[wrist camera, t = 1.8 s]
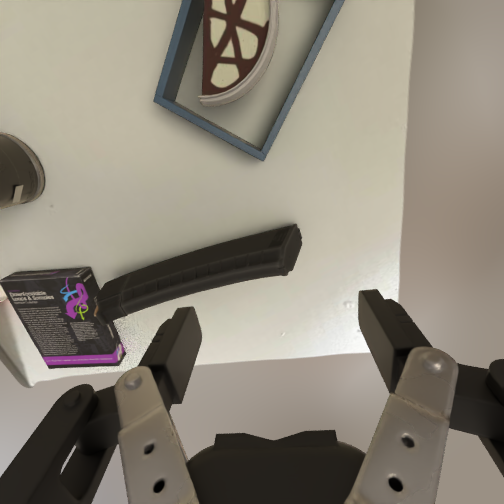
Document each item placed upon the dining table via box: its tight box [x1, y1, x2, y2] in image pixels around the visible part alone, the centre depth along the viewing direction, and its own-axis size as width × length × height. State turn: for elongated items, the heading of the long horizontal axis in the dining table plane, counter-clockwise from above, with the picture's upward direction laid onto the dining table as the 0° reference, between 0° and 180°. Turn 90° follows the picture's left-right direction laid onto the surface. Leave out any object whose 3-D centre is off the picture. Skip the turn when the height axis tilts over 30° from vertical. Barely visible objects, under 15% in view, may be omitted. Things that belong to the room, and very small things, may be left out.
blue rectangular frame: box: [154, 0, 345, 161], centre depth 27 cm, size 14×18×4 cm
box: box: [0, 267, 126, 369], centre depth 46 cm, size 14×4×20 cm
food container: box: [198, 0, 279, 106], centre depth 25 cm, size 12×6×10 cm, turn 173°
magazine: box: [94, 224, 302, 325], centre depth 36 cm, size 17×3×30 cm
